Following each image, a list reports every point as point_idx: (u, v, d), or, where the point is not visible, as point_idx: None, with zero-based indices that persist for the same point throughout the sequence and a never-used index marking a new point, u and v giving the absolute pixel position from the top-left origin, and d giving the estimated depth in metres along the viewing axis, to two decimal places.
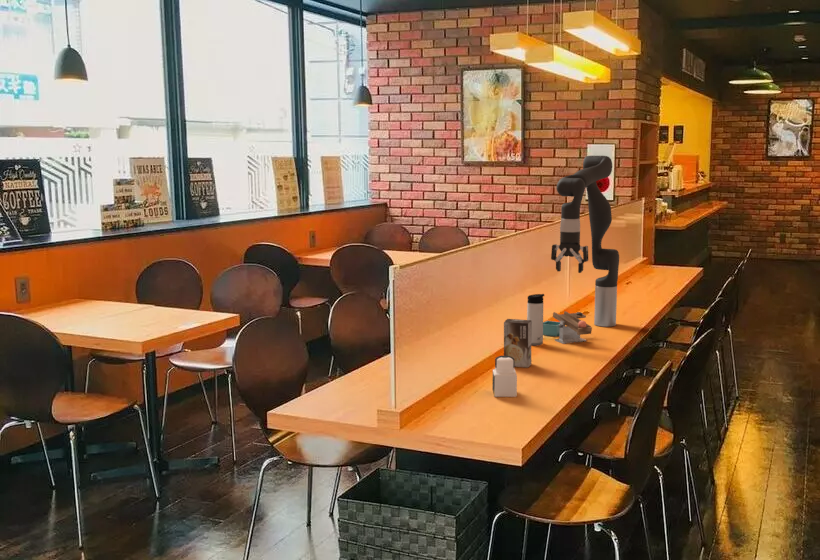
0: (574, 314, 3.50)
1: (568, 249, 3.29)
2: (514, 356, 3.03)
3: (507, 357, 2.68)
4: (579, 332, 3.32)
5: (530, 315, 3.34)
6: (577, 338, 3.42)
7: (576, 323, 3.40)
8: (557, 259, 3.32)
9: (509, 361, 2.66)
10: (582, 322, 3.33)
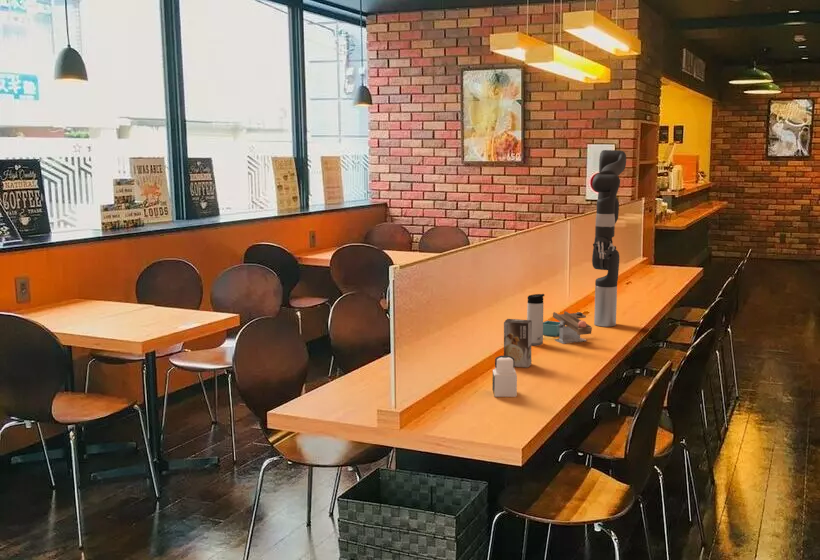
0: (574, 314, 3.50)
1: None
2: (514, 356, 3.03)
3: (507, 357, 2.68)
4: (579, 332, 3.32)
5: (530, 315, 3.34)
6: (577, 338, 3.42)
7: (576, 323, 3.40)
8: None
9: (509, 361, 2.66)
10: (582, 322, 3.33)
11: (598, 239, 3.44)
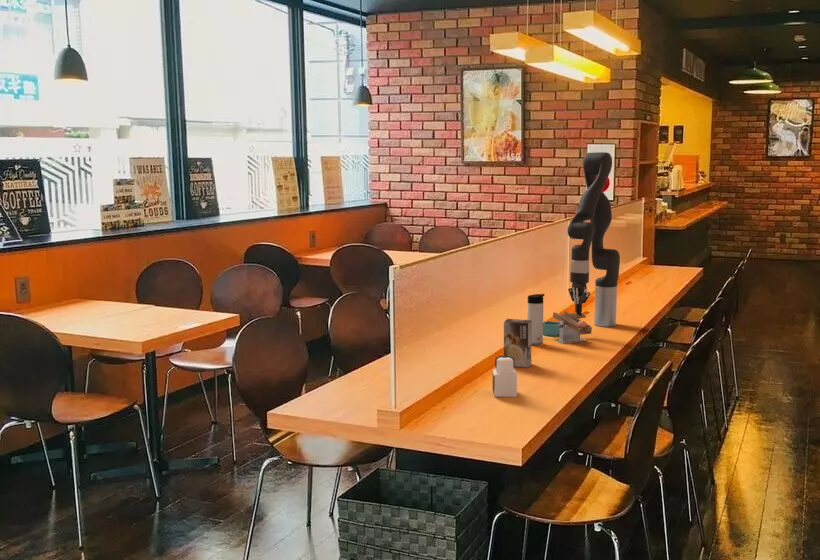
0: (574, 314, 3.50)
1: None
2: (514, 356, 3.03)
3: (507, 357, 2.68)
4: (579, 332, 3.32)
5: (530, 315, 3.34)
6: (577, 338, 3.42)
7: (576, 323, 3.40)
8: None
9: (509, 361, 2.66)
10: (582, 322, 3.33)
11: (573, 284, 3.51)
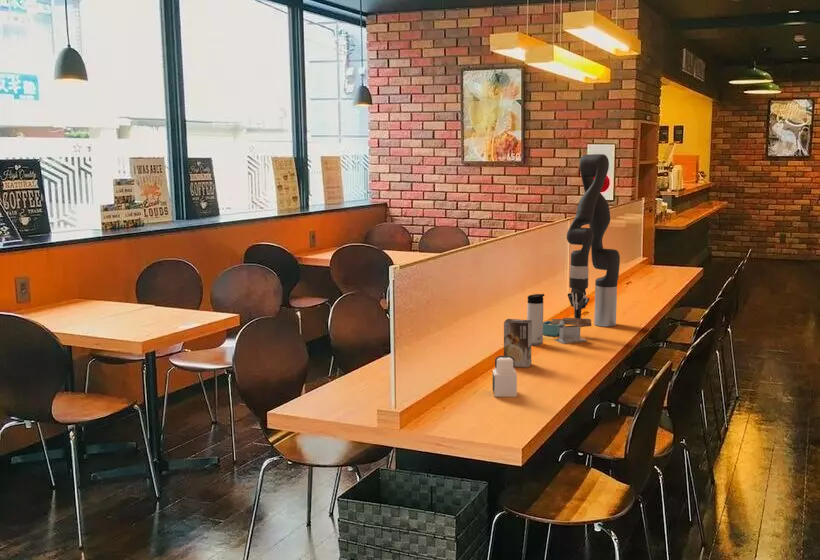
0: None
1: None
2: (514, 356, 3.03)
3: (507, 357, 2.68)
4: (579, 324, 3.32)
5: (530, 315, 3.34)
6: (577, 338, 3.42)
7: None
8: None
9: (509, 361, 2.66)
10: None
11: (572, 290, 3.52)
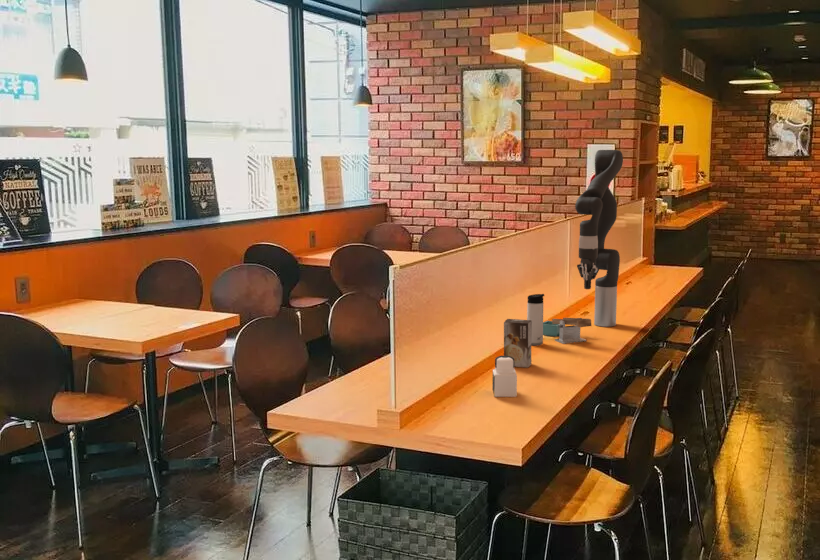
0: None
1: None
2: (514, 356, 3.03)
3: (507, 357, 2.68)
4: (579, 324, 3.32)
5: (530, 315, 3.34)
6: (577, 338, 3.42)
7: None
8: None
9: (509, 361, 2.66)
10: None
11: (582, 260, 3.48)
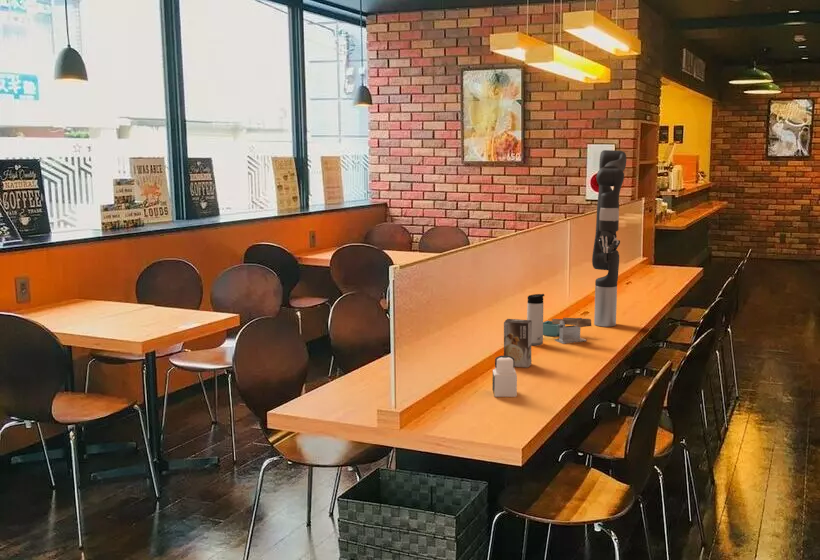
0: None
1: None
2: (514, 356, 3.03)
3: (507, 357, 2.68)
4: (579, 324, 3.32)
5: (530, 315, 3.34)
6: (577, 338, 3.42)
7: None
8: None
9: (509, 361, 2.66)
10: None
11: (602, 233, 3.43)
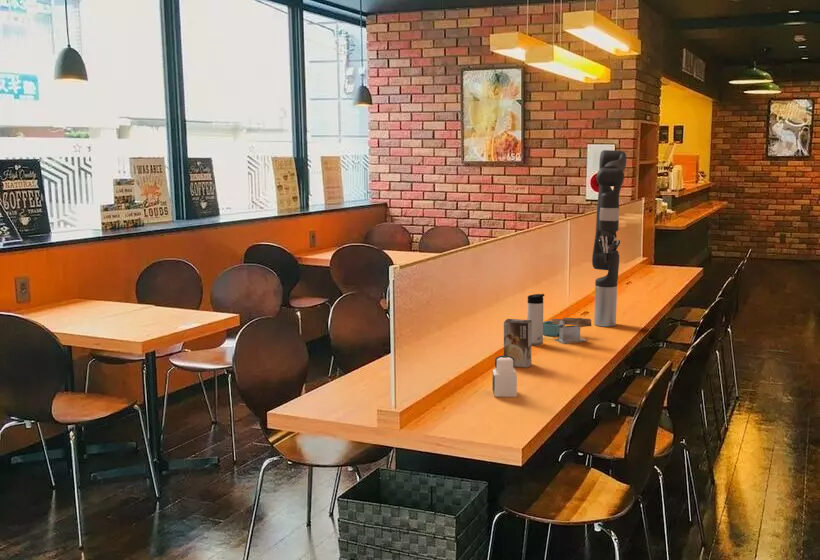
0: None
1: None
2: (514, 356, 3.03)
3: (507, 357, 2.68)
4: (579, 324, 3.32)
5: (530, 315, 3.34)
6: (577, 338, 3.42)
7: None
8: None
9: (509, 361, 2.66)
10: None
11: (602, 233, 3.43)
